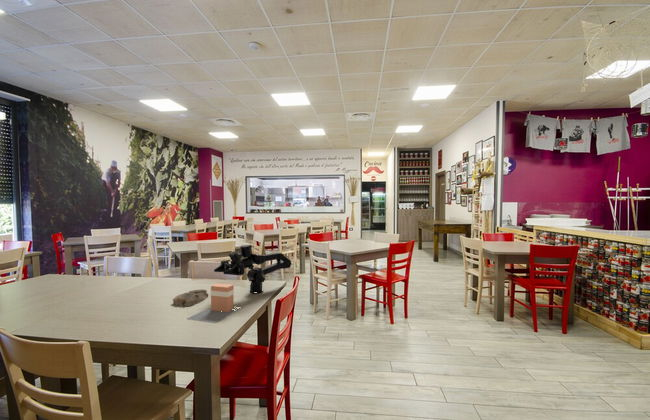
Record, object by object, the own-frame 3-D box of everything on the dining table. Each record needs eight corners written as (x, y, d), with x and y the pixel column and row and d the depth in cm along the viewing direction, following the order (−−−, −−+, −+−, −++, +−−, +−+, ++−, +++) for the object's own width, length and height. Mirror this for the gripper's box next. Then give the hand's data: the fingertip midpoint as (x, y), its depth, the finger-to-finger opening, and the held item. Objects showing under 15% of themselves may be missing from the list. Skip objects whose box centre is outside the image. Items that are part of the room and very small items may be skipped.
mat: (217, 304, 152) (217, 303, 152) (243, 307, 148) (243, 306, 148) (186, 319, 131) (186, 319, 131) (216, 323, 126) (216, 322, 126)
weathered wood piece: (195, 294, 171) (168, 304, 152) (195, 286, 171) (169, 295, 152) (215, 297, 167) (190, 307, 148) (215, 288, 167) (191, 298, 148)
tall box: (217, 306, 147) (217, 283, 147) (233, 308, 145) (233, 284, 145) (210, 310, 142) (210, 286, 142) (227, 312, 140) (227, 287, 140)
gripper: (231, 249, 173) (207, 255, 161) (251, 252, 161) (226, 259, 149) (234, 267, 174) (210, 275, 162) (253, 271, 162) (229, 280, 150)
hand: (218, 272), depth 156 cm, fingers open, 9 cm apart
